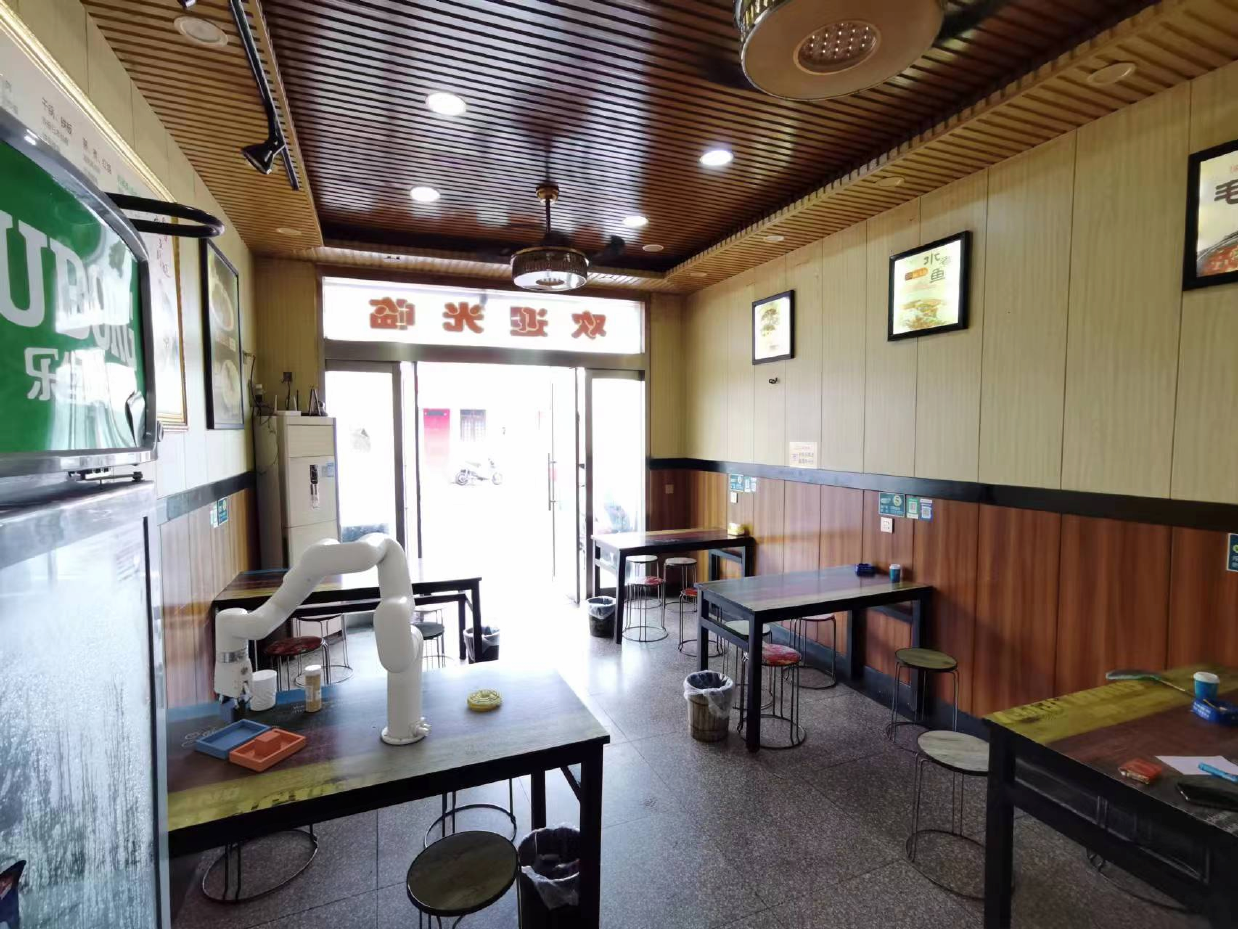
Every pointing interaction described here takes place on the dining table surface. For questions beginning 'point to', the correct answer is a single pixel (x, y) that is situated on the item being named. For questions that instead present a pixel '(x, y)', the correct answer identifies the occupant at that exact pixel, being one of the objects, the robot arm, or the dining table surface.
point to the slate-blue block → (227, 712)
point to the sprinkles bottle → (313, 688)
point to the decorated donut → (484, 700)
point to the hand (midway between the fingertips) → (233, 717)
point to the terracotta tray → (251, 760)
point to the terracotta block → (267, 743)
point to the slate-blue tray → (230, 738)
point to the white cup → (263, 690)
